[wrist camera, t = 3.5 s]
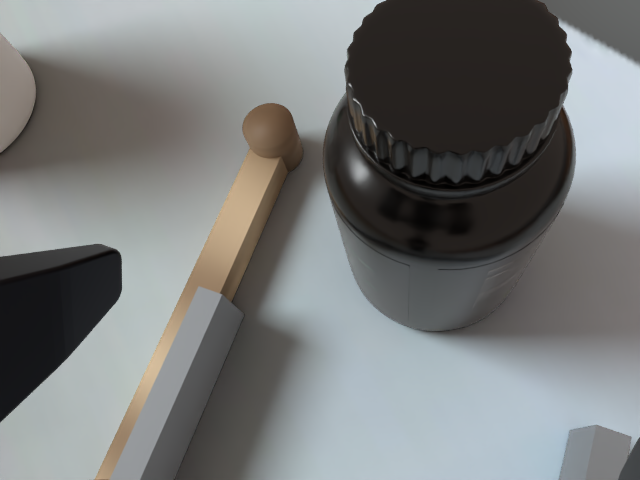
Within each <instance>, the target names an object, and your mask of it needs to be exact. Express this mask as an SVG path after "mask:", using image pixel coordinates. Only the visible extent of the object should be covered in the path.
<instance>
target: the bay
mask: <svg viewBox="0 0 640 480" xmlns="http://www.w3.org/2000/svg"><path fill="white" fill-rule="evenodd" d="M244 315H245V314H243V313H242V312H241V311H240V310H239V309H238V308H237V307H236V306H235V305H233V304H232V303H231V302H230V301H229V300H228V299H227V298H226V297H225V296H223V295H222V294H220V293H217V292H214V291H211V290H208V289H205V288H202V287H200V286H198V289H197V291H196V293H195V295H194V297H193V299H192V302H191V304H190V306H189V308H188V310H187V312H186V315H185V317H184V319H183V321H182V323H181V325H180V328H179V330H178V332H177V334H176V336H175V339H174V341H173V343H172V345H171V347H170V349H169V352H168V354H167V356H166V358H165V360H164V362H163V365H162V367H161V369H160V371H159V373H158V375H157V378H156V380H155V382H154V384H153V386H152V388H151V391H150V393H149V395H148V397H147V399H146V402H145V404H144V406H143V408H142V410H141V412H140V415H139V417H138V419H137V421H136V423H135V425H134V428H133V430H132V432H131V434H130V436H129V438H128V441H127V443H126V445H125V447H124V449H123V451H122V454H121V456H120V458H119V460H118V462H117V464H116V467H115V469H114V471H113V473H112V475H111V478H110V480H174V479H175V477H176V474H177V472H178V470H179V467H180V465H181V463H182V460H183V458H184V456H185V453H186V451H187V449H188V446H189V444H190V441H191V439H192V437H193V434H194V432H195V430H196V427H197V425H198V423H199V420H200V418H201V416H202V413H203V411H204V409H205V406H206V404H207V402H208V399H209V397H210V394H211V392H212V390H213V387H214V385H215V383H216V380H217V378H218V376H219V373H220V371H221V369H222V366H223V364H224V362H225V359H226V357H227V355H228V352H229V350H230V348H231V345H232V343H233V340H234V338H235V336H236V333H237V331H238V329H239V326H240V324H241V322H242V319H243V317H244ZM630 443H631V437H630V436H627V435H624V434H622V433H619V432H616V431H613V430H610V429H607V428H604V427H601V426H599V425H593V426H588V427H583V428H578V429H573V430H570V432H569V437H568V442H567V446H566V451H565V455H564V460H563V464H562V469H561V473H560V478H559V480H618V478H619V475H620V472H621V470H622V468H623V466H624V464H625V463H626V461H627V459H628V453H629V448H630Z"/></svg>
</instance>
